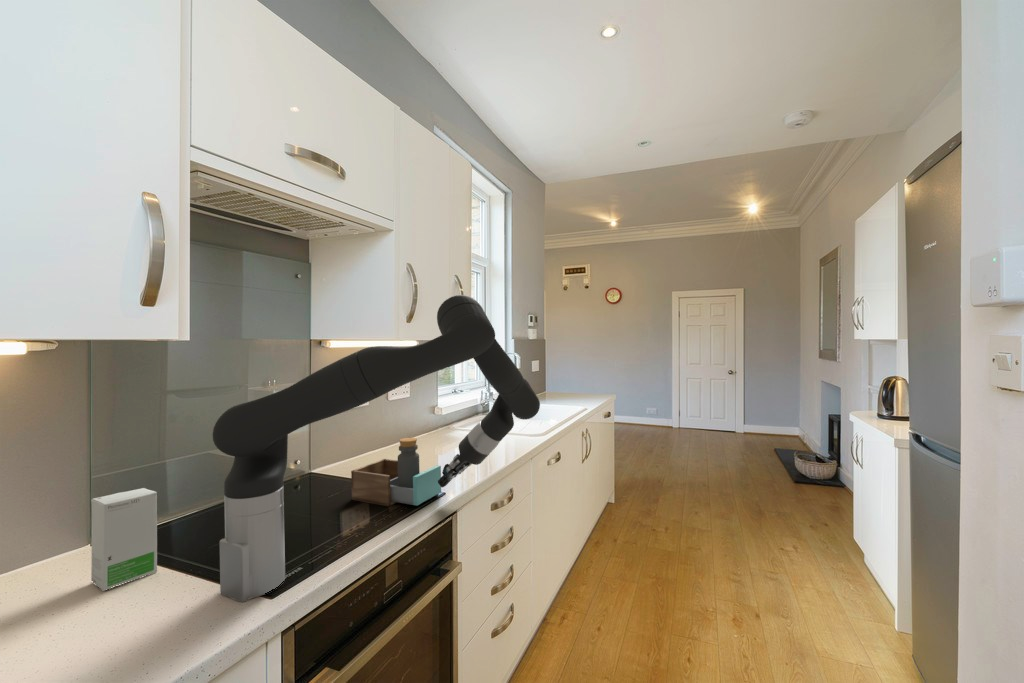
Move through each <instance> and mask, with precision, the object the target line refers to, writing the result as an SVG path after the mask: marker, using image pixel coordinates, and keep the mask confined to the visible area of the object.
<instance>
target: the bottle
mask: <svg viewBox="0 0 1024 683" xmlns="http://www.w3.org/2000/svg"><path fill="white" fill-rule="evenodd" d="M417 440H418V439H417V438H416V437H405V438H404V437H403V438H400V439H399V446H398V451H400V453H399V454H398V455H397V460H398V486H399V487H406V488H412V489H413V476H415V475H417V474H420V473H421V472H420V455H419V453H418V452H417V450H418V448H419V447H418V445H417Z"/></svg>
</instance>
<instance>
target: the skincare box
mask: <svg viewBox="0 0 1024 683" xmlns="http://www.w3.org/2000/svg"><path fill="white" fill-rule="evenodd" d="M157 494H158V492H157V491H156V490H152V489H147V488H146V487H141V488H137V489H133V490H127V491H121V492H117V493H112V494H108V495H104V496H99V497H93V498H92V499H90V501H91V574H90V576H91V581H93V583H95V584H96V585H97V586H98V587H100V588H101V589H102V590H101V589H100V588H99V589H100V590H101V591H103V590H106V589H109V588H111V587H113V586H116V585H119V584H122V583H125V582H128V581H131V580H134V579H137V578H140V577H142V576H145V575H148V576H150V575H149V574H151V575H154V574H157V572H158V511H157V510H158V502H157V500H158V495H157ZM153 573H154V574H153ZM145 577H146V576H145ZM142 578H143V577H142ZM140 579H141V578H140ZM137 580H138V579H137ZM134 581H135V580H134ZM131 582H132V581H131ZM93 583H92V584H93ZM96 585H95V586H96ZM97 586H96V587H97ZM98 587H97V588H98ZM109 590H110V589H109Z"/></svg>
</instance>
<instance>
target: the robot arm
mask: <svg viewBox="0 0 1024 683" xmlns="http://www.w3.org/2000/svg"><path fill="white" fill-rule="evenodd" d="M436 314H437V315H436V320H437V321H436V322H437V326H438V329H439V331H440V335H439V336H437V337H435V338H432V339H430V340H428V341H425V342H423V343H420V344H416V345H413V346H411V345H410V346H391V345H390V346H389V345H383V346H382V345H378V346H377V345H376V346H370V347H369V346H368V347H365V348H361V349H360V350H357V351H355V352H353V353H350V354H349V355H346V356H344V357H341V358H339V359H338V360H336V361H334V362H332V363H330V364H328V365H326V366H324V367H322V368H320V369H318V370H316V371H315V372H312V373H310V374H309V375H307V376H306V377H303V378H302V379H301V380H299V381H297V382H295V383H293V384H291V385H290V386H288V387H286V388H283V389H281V390H279V391H277V392H274V393H271V394H269V395H265V396H263V397H259V398H257V399H254V400H250V401H246V402H243V403H239V404H236V405H233V406H232V407H231V406H230V407H229V408H228V409H226V411H224V412H223V413H222V414H221V415H220V416H219V417H218V419H217V420H216V422H215V424H214V426H213V430H212V441H213V444H214V445H215V447H216V449H218V450H219V451H220V452H221V453H223V454H225V455H227V456H231V457H234V460H233V463H232V466H231V468H230V470H229V473H228V474H227V475H226V478H225V479H224V483H223V489H224V490H223V493H224V494H223V495H224V496H223V498H224V500H223V501H224V538H223V537H222V539H220V540H219V581H220V582H219V583H220V584H219V586H220V587H219V589H220V593H219V594H220V595H222V596H224V597H227V598H230V599H233V600H235V601H238V602H241V603H243V602H246V601H248V600H251V599H254V598H257V597H261V596H264V595H266V594H265V593H267V592H269V591H271V590H272V589H275V588H276V587H278V586H279V585H280V584H281V583H282V582H283V581H284V582H285V579H286V556H285V554H286V553H285V552H286V551H285V550H286V548H285V547H286V546H285V544H286V543H285V542H286V541H285V501H284V499H285V496H284V495H285V494H284V492H285V490H284V489H285V488H284V478H285V473H286V469H287V465H288V448H289V447H288V445H289V444H288V441H289V440H288V439H289V434H291V433H293V432H295V431H297V430H299V429H301V428H303V427H305V426H307V425H310V424H313V423H316V422H319V421H321V420H326V419H328V418H331V417H334V416H337V415H338V414H339V415H340V414H342V413H345V412H348V411H349V410H353V409H355V408H357V407H360V406H362V405H364V404H367V403H369V402H371V401H373V400H376V399H377V398H379V397H381V396H384V395H386V394H388V393H389V392H392V391H393V390H396V389H398V388H400V387H402V386H405V385H407V384H409V383H411V382H413V381H416V380H419V379H421V378H423V377H425V376H428V375H430V374H433V373H436V372H438V371H442V370H444V369H447V368H450V367H453V366H455V365H458V364H461V363H464V362H467V361H470V360H474V362H475V363H476V366H478V368H479V370H480V372H481V373H482V374H483V376H484V377H485V379H486V381H487V382H488V383H489V385H490V386H491V387H492V388H493V389H494V390H495V392H496V393H497V394H498V395H497V397H496V399H495V401H494V403H493V404H492V407H491V409H490V411H489V412H487V414H486V415H485V416H484V417H483V418H482V419H481V421H480V422H478V423H477V424H476V425H475V426H474V427H473V428H472V429H471V430H470V431H469V432H468V434H466V435H465V436H464V438H463V439H462V440H461V441H460V442H459V443H458V452H459V453H457V454H456V455H454V457H453V458H452V460H451V461H450V463H447V464H445V465H444V466H443V468H442V471H441V478H440V479H439V480H438V483H439V485H440V486H441V488H444V487H446V486H448V484H449V483H450V482H451V481H452V480H454V479H455V478H457V476H459V475H461V474H462V473H464V472H465V471H466V470H467V469H468V467H470V466H472V465H475V466H477V465H480V464H482V463H483V462H484V460H485V459H486V458H487V457H488V456H489V455H490V454H491V453H492V452H493V451H494V450H495V449H496V447H497V446H499V444H500V442H502V440H503V439H504V438H505V437H506V436H507V435H508V434H509V432H511V431H512V429H513V427H514V426H515V420H514V417H516V418H518V419H519V420H530V419H532V418H534V417H535V416H537V414H538V413H539V411H540V408H541V402H540V399H539V397H538V395H537V394H536V393H535V391H534V389H533V388H532V386H531V384H530V383H529V382H528V381H527V379H525V378H524V376H523V375H522V373H521V371H520V370H519V368H518V367H517V365H516V364H515V363H514V362H513V360H512V359H511V357H510V356H509V355H508V354H507V353H506V351H505V350H504V349H503V348H502V346H501V345H500V343H499V342H498V341H497V339H496V332H495V328H494V327H493V325H492V323H491V320H489V317H488V316H487V314H486V312H485V310H484V308H483V306H482V305H481V304H480V303H479V302H478V300H476V299H474V298H473V297H471V296H470V295H465V294H457V295H453V296H450V297H449V298H446V299H445V300H444V301H443V302H442V303H440V306H439V307H438V309H437V313H436ZM513 415H514V417H513ZM284 582H283V583H284ZM283 583H282V584H283ZM282 584H281V585H282ZM281 585H280V586H281ZM280 586H279V587H280ZM279 587H278V588H279ZM276 589H277V588H276ZM276 589H275V590H276ZM271 592H272V591H271ZM269 593H270V592H269ZM267 594H268V593H267Z"/></svg>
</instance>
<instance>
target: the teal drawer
mask: <svg viewBox="0 0 1024 683" xmlns="http://www.w3.org/2000/svg"><path fill="white" fill-rule="evenodd" d="M441 468H442V465H434V466H432V467H431V468H429V469H426V470H424V471H422V472H420V474H417V475H415V476H413V489H412V488H406V487H399V486H398V477H396V478H394V479H392V480H390V494H391V501H394V502H396V503H399V504H400V503H401V504H405V505H412V506H419V505H421V504H423V503H424V502H427V501H428V500H430V499H432V498H433V497H435V496H437V495H438V494H440V493H442V487H441V486H440V485H439V483H438V480H439V479H440V478H441V477H442V469H441Z"/></svg>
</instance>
